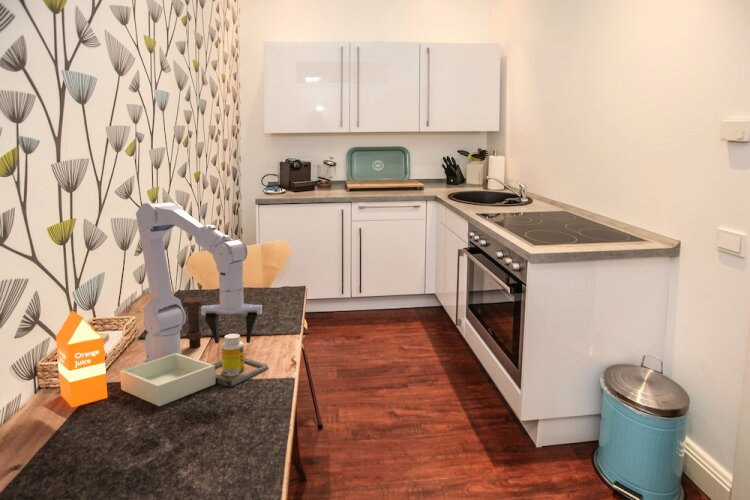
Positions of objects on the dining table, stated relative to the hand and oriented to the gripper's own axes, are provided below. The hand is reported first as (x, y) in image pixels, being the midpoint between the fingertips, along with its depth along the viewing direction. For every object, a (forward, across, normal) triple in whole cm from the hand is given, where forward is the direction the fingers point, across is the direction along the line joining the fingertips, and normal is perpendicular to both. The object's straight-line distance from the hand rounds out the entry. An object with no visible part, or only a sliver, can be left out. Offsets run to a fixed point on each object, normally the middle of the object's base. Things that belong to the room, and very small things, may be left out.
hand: (232, 341), depth 133 cm
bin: (+10, -15, -3) cm, 19 cm away
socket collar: (+10, -1, +5) cm, 11 cm away
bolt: (+11, -15, +25) cm, 31 cm away
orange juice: (+11, -33, -7) cm, 36 cm away
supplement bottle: (+10, -1, +5) cm, 11 cm away
